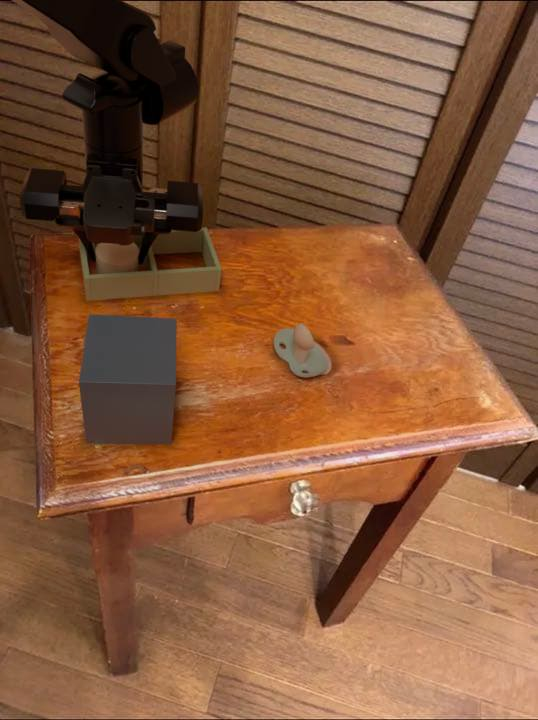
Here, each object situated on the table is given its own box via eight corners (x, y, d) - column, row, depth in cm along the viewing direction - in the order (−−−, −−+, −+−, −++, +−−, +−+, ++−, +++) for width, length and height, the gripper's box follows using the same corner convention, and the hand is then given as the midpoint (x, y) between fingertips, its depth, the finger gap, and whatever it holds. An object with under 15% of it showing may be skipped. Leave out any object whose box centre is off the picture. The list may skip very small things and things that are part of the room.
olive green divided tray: (87, 304, 68) (84, 278, 65) (80, 259, 73) (77, 232, 70) (218, 294, 73) (222, 269, 70) (204, 252, 78) (206, 227, 75)
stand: (86, 447, 56) (78, 381, 49) (94, 382, 61) (88, 313, 54) (171, 448, 58) (176, 384, 50) (172, 384, 63) (176, 318, 55)
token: (94, 279, 69) (93, 263, 67) (98, 252, 72) (97, 236, 70) (138, 282, 70) (138, 266, 68) (140, 255, 73) (140, 239, 71)
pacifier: (304, 333, 71) (264, 348, 68) (316, 294, 67) (275, 309, 64) (341, 374, 68) (301, 392, 65) (358, 336, 64) (315, 354, 60)
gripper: (-4, 174, 51) (22, 303, 63) (209, 193, 55) (197, 312, 66) (19, 113, 59) (39, 238, 70) (206, 133, 62) (196, 249, 74)
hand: (117, 260), depth 70 cm, fingers closed on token, 5 cm apart
